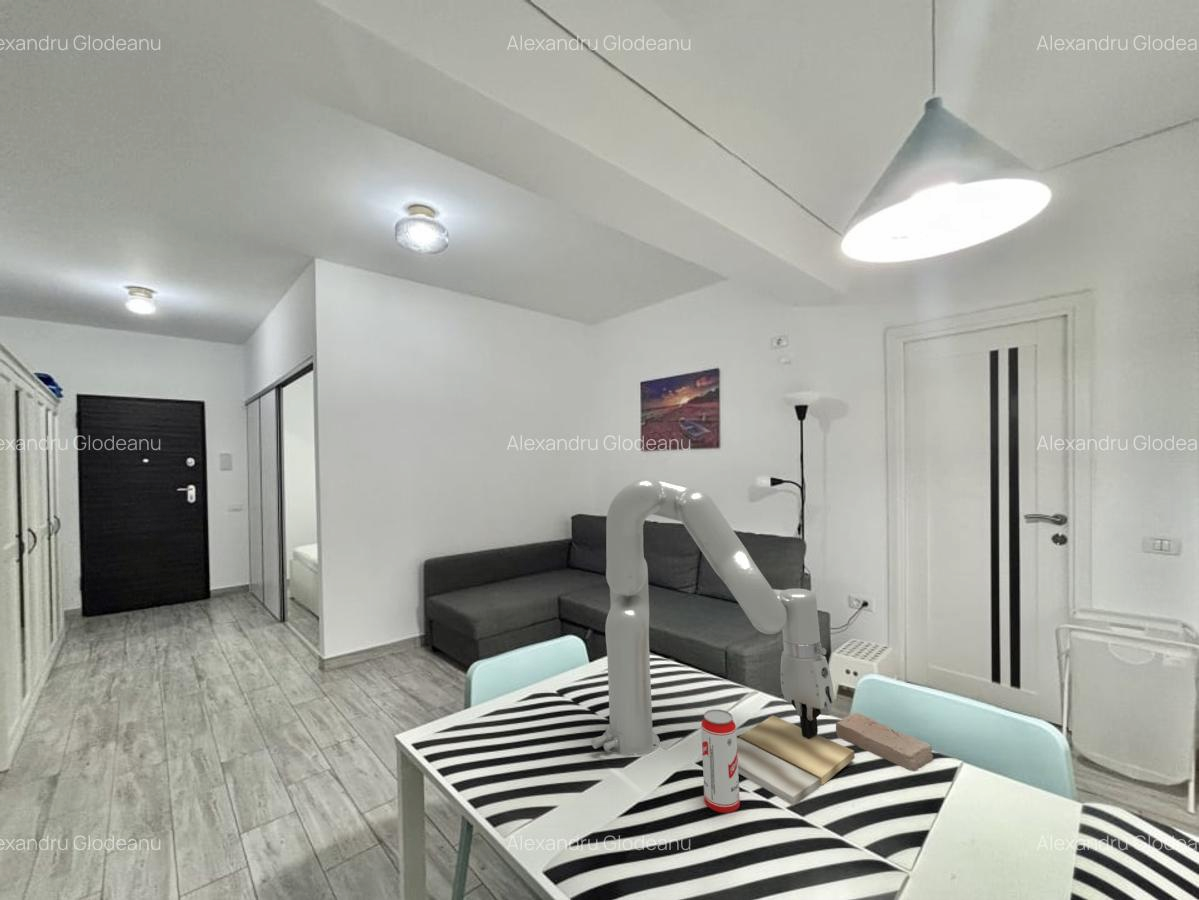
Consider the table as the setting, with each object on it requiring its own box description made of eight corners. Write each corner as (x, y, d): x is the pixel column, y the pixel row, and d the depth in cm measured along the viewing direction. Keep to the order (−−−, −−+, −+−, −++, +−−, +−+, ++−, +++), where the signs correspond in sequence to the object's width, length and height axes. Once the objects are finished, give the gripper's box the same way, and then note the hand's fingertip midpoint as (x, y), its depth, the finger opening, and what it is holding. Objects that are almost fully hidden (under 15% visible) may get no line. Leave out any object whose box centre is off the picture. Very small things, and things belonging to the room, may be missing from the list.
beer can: (741, 799, 90) (737, 710, 91) (739, 822, 84) (734, 726, 85) (706, 793, 92) (702, 706, 93) (702, 815, 87) (698, 721, 88)
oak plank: (821, 785, 92) (821, 777, 92) (740, 742, 107) (739, 736, 107) (854, 758, 99) (853, 750, 99) (773, 721, 114) (772, 715, 114)
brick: (935, 765, 99) (934, 741, 100) (914, 780, 95) (912, 754, 95) (857, 731, 113) (855, 710, 114) (835, 742, 109) (833, 720, 109)
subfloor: (793, 815, 86) (792, 800, 86) (706, 763, 102) (706, 751, 102) (862, 765, 100) (862, 753, 100) (777, 726, 116) (776, 716, 116)
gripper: (845, 652, 103) (853, 743, 101) (782, 636, 115) (789, 717, 114) (825, 661, 98) (834, 756, 97) (762, 644, 110) (769, 728, 109)
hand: (809, 735), depth 105 cm, fingers closed
